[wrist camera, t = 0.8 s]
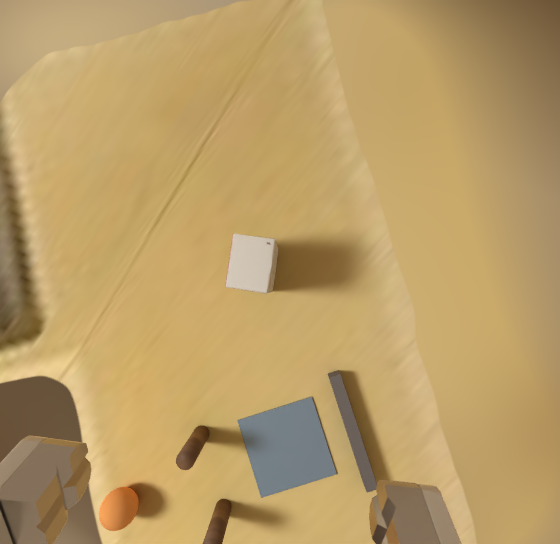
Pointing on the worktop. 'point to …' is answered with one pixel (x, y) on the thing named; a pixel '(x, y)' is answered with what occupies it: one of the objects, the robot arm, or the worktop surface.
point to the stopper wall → (352, 431)
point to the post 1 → (192, 448)
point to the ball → (118, 508)
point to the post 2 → (218, 523)
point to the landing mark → (286, 447)
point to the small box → (252, 263)
